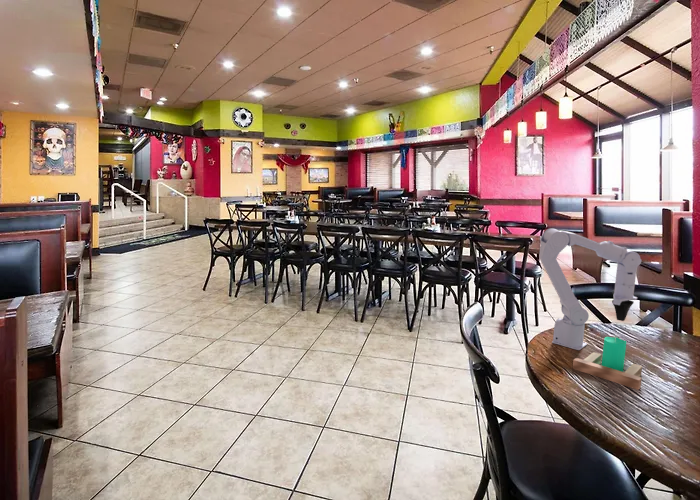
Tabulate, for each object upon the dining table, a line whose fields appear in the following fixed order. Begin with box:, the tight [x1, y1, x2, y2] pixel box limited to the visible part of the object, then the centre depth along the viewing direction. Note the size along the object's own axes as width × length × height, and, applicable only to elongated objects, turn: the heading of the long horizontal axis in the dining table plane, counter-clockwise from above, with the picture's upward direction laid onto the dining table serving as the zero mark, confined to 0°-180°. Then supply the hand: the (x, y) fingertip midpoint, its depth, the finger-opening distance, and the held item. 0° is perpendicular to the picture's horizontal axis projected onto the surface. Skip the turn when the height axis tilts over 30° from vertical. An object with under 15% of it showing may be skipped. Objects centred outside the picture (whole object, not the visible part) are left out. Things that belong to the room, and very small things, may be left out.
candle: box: [600, 335, 628, 372], centre depth 129 cm, size 6×6×12 cm
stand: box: [572, 351, 643, 391], centre depth 129 cm, size 18×11×3 cm, turn 41°
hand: (620, 320), depth 146 cm, fingers closed
